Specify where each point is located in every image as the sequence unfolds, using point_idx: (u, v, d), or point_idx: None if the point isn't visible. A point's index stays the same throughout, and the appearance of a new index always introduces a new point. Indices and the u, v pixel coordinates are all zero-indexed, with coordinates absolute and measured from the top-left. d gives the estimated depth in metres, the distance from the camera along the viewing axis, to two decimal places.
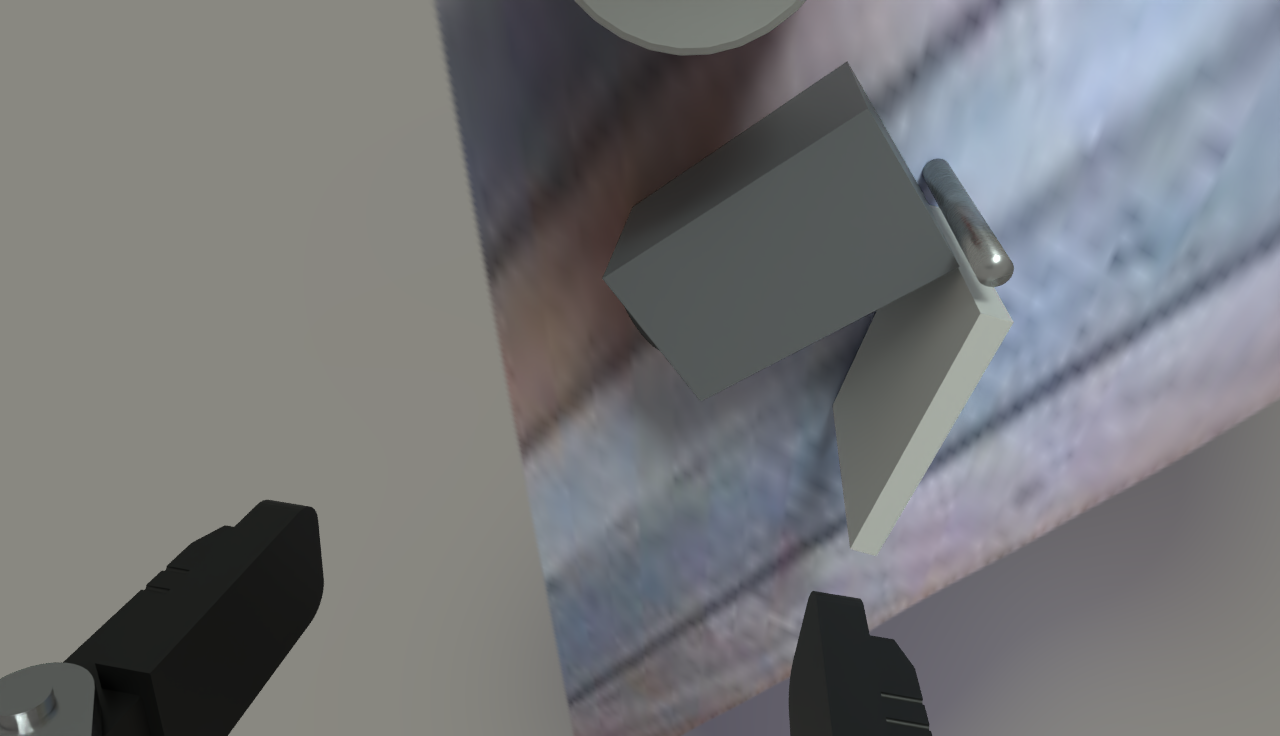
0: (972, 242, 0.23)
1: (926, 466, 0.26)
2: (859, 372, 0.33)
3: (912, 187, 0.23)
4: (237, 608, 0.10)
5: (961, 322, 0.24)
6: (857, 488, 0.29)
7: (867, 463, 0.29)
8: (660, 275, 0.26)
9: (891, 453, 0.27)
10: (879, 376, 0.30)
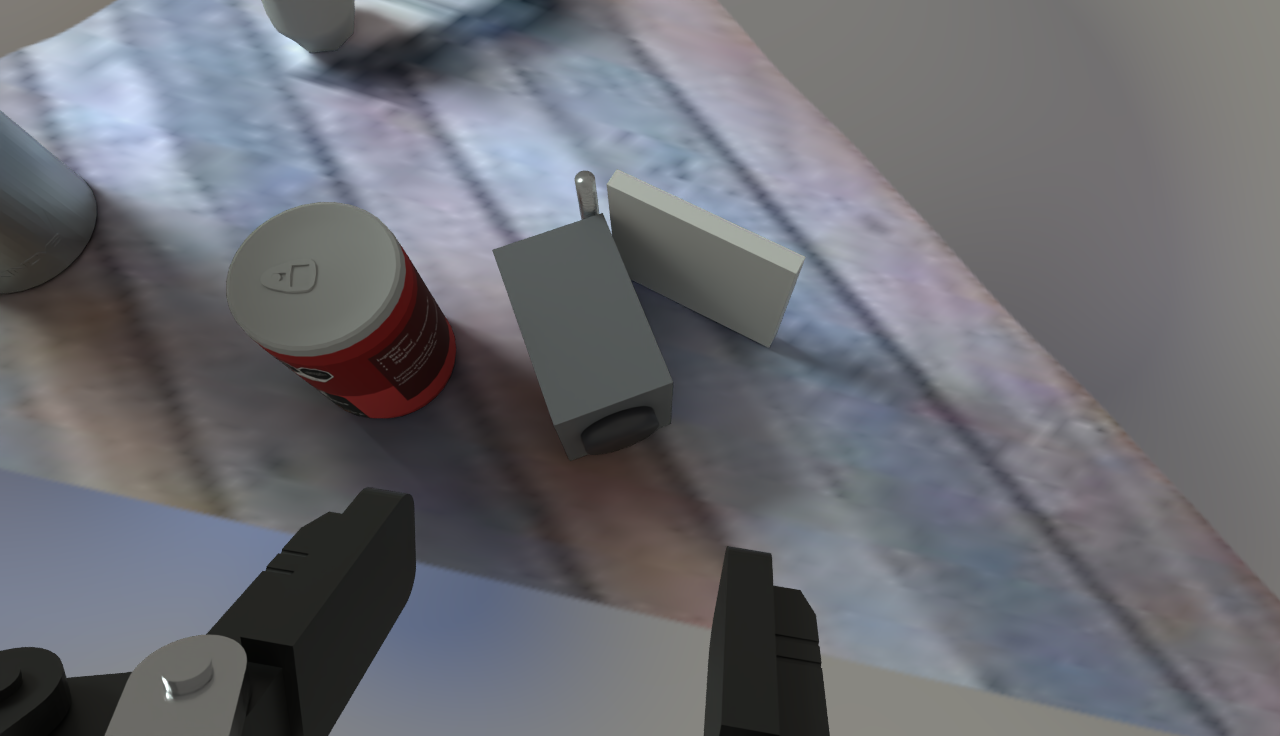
0: (578, 199, 0.39)
1: (720, 218, 0.37)
2: (726, 315, 0.43)
3: (545, 233, 0.40)
4: (356, 588, 0.11)
5: (622, 201, 0.38)
6: (766, 282, 0.38)
7: (747, 275, 0.38)
8: (562, 385, 0.37)
9: (717, 245, 0.37)
10: (706, 284, 0.41)
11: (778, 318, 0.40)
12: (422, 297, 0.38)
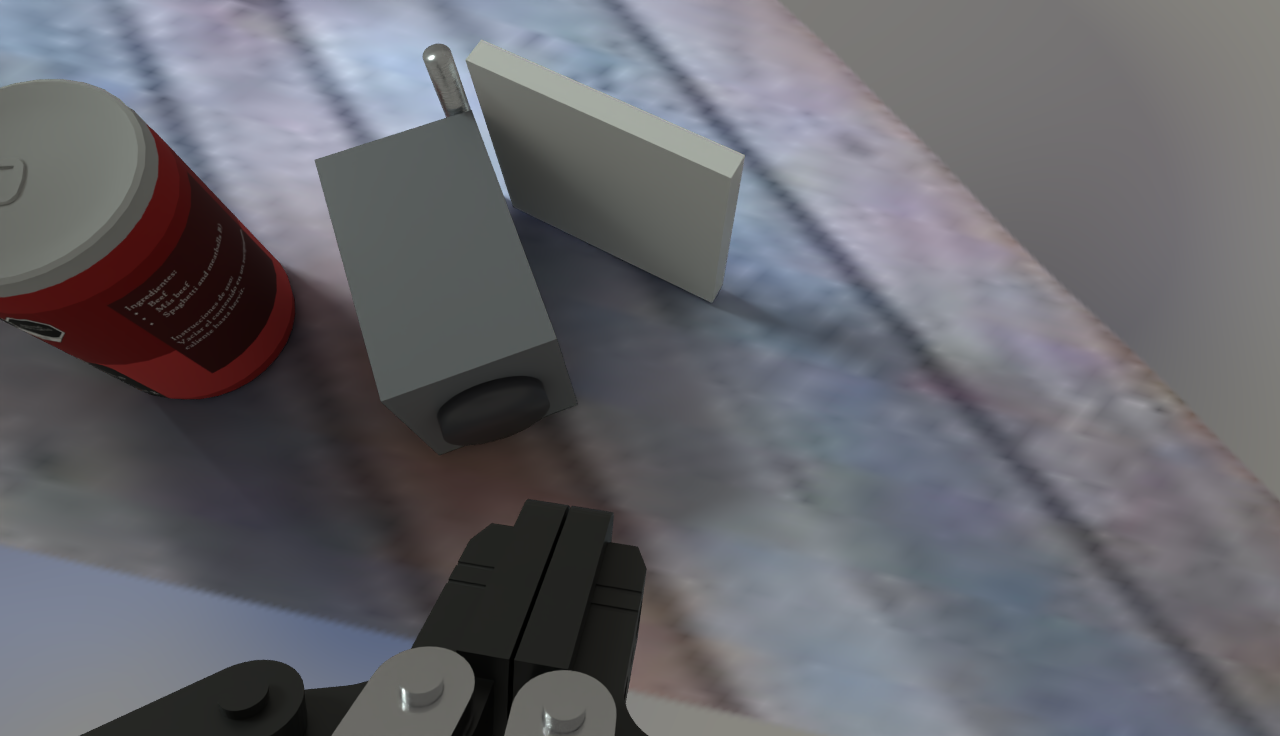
0: (434, 87, 0.28)
1: (624, 104, 0.26)
2: (652, 257, 0.32)
3: (390, 137, 0.28)
4: None
5: (490, 86, 0.27)
6: (694, 198, 0.27)
7: (667, 190, 0.27)
8: (397, 344, 0.25)
9: (622, 144, 0.26)
10: (620, 212, 0.30)
11: (717, 256, 0.29)
12: (204, 221, 0.26)
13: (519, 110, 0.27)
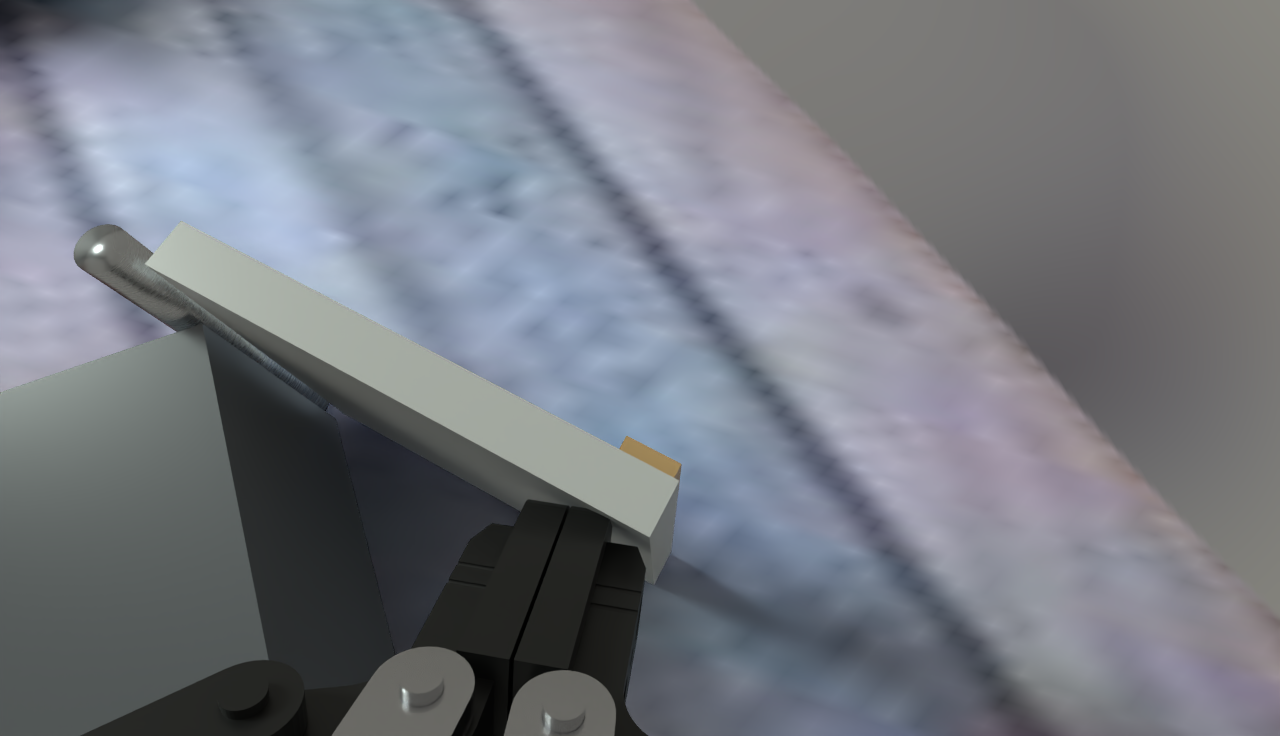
0: None
1: (442, 361, 0.13)
2: None
3: (51, 377, 0.16)
4: None
5: (207, 304, 0.14)
6: None
7: (543, 496, 0.14)
8: None
9: (445, 432, 0.13)
10: (484, 478, 0.18)
11: (649, 568, 0.17)
12: None
13: (269, 342, 0.15)
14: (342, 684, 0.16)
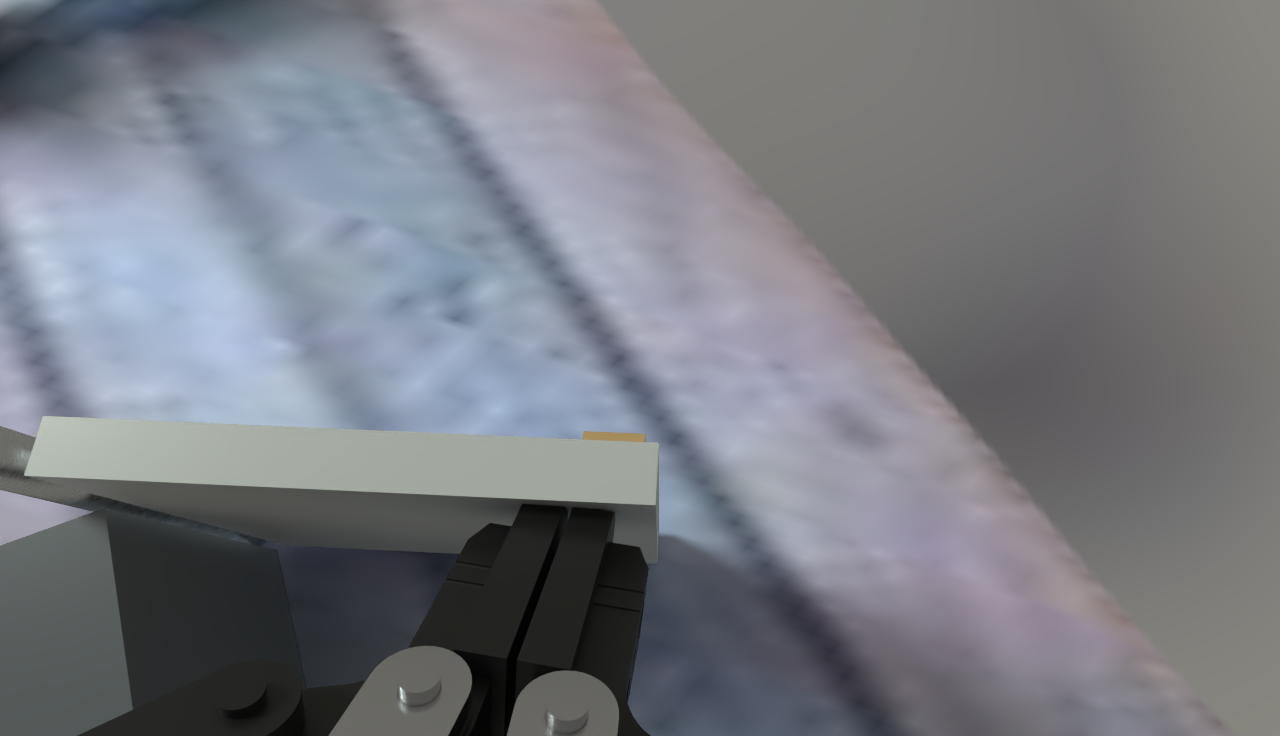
0: None
1: (384, 435, 0.12)
2: None
3: None
4: (536, 599, 0.11)
5: (110, 488, 0.13)
6: None
7: None
8: None
9: (416, 502, 0.13)
10: (461, 536, 0.17)
11: (653, 545, 0.17)
12: None
13: (192, 498, 0.14)
14: None
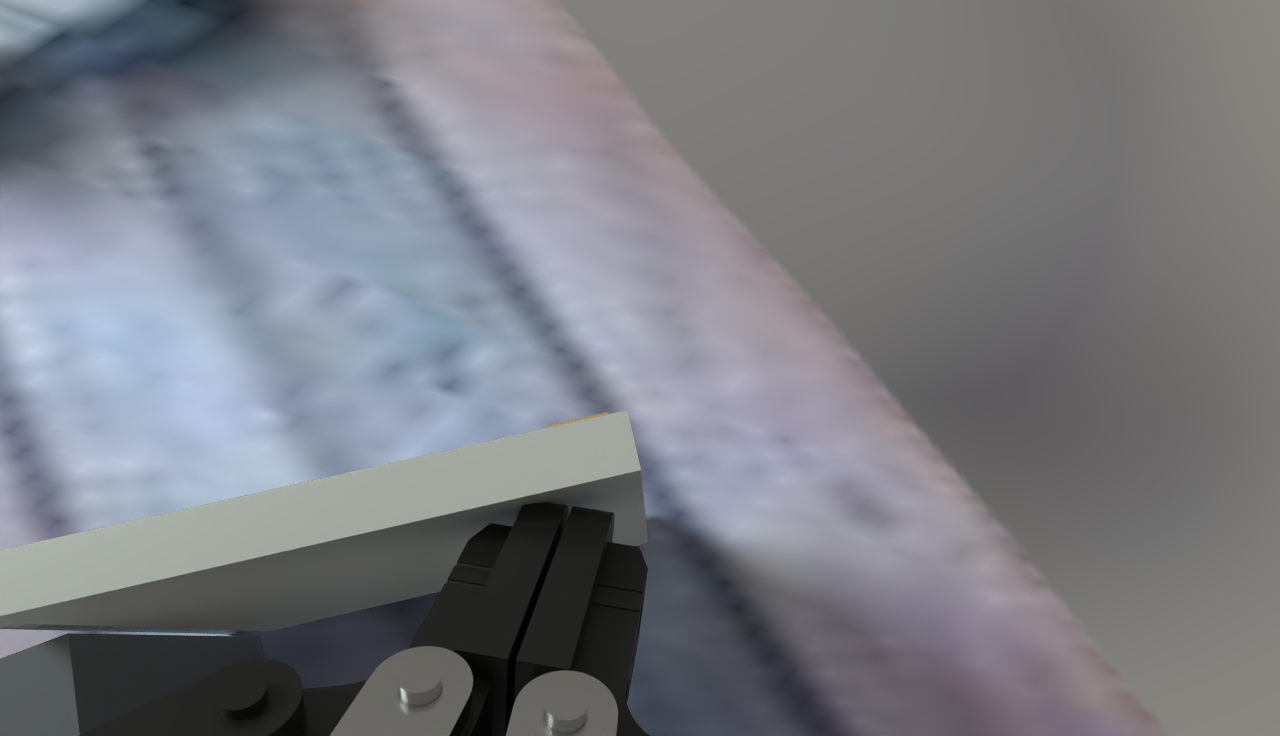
0: None
1: (352, 476, 0.12)
2: None
3: None
4: (537, 599, 0.11)
5: (72, 612, 0.12)
6: None
7: None
8: None
9: (401, 535, 0.12)
10: (451, 565, 0.17)
11: (642, 520, 0.17)
12: None
13: (163, 598, 0.13)
14: None
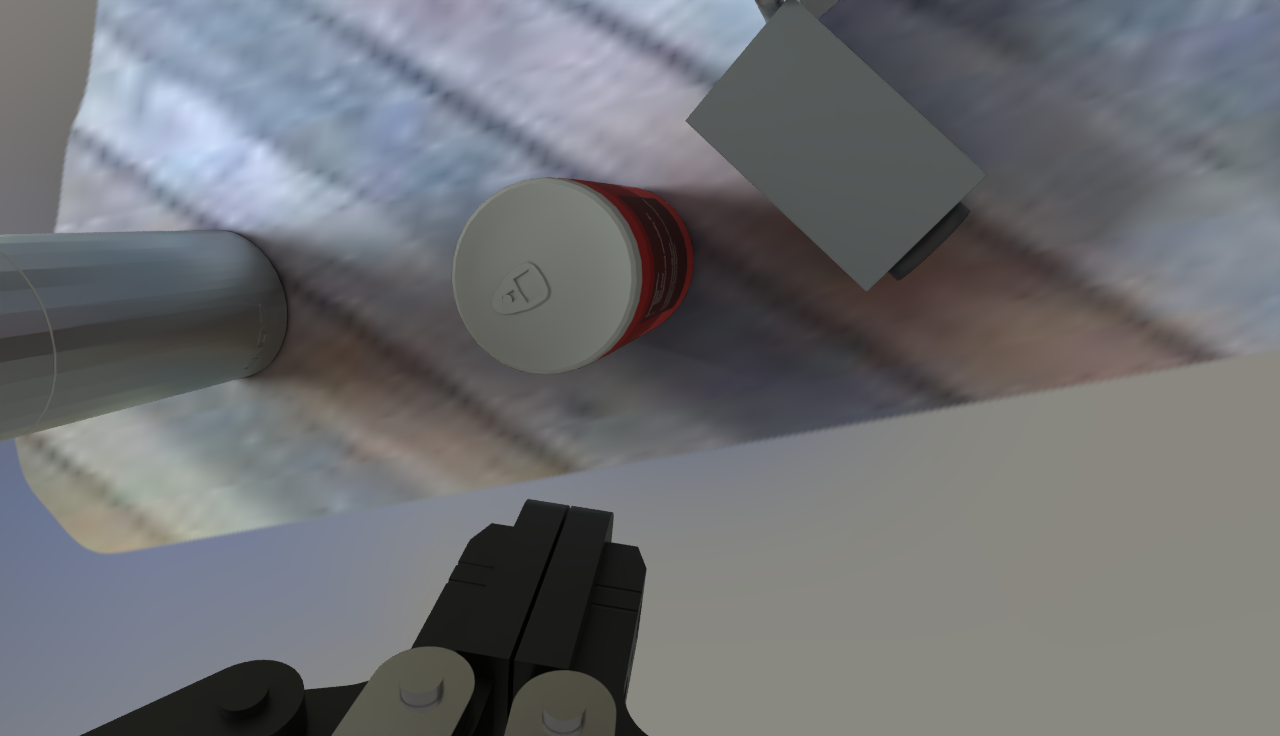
0: None
1: None
2: None
3: (734, 63, 0.30)
4: None
5: None
6: None
7: None
8: (852, 242, 0.30)
9: None
10: None
11: None
12: (647, 223, 0.31)
13: None
14: None
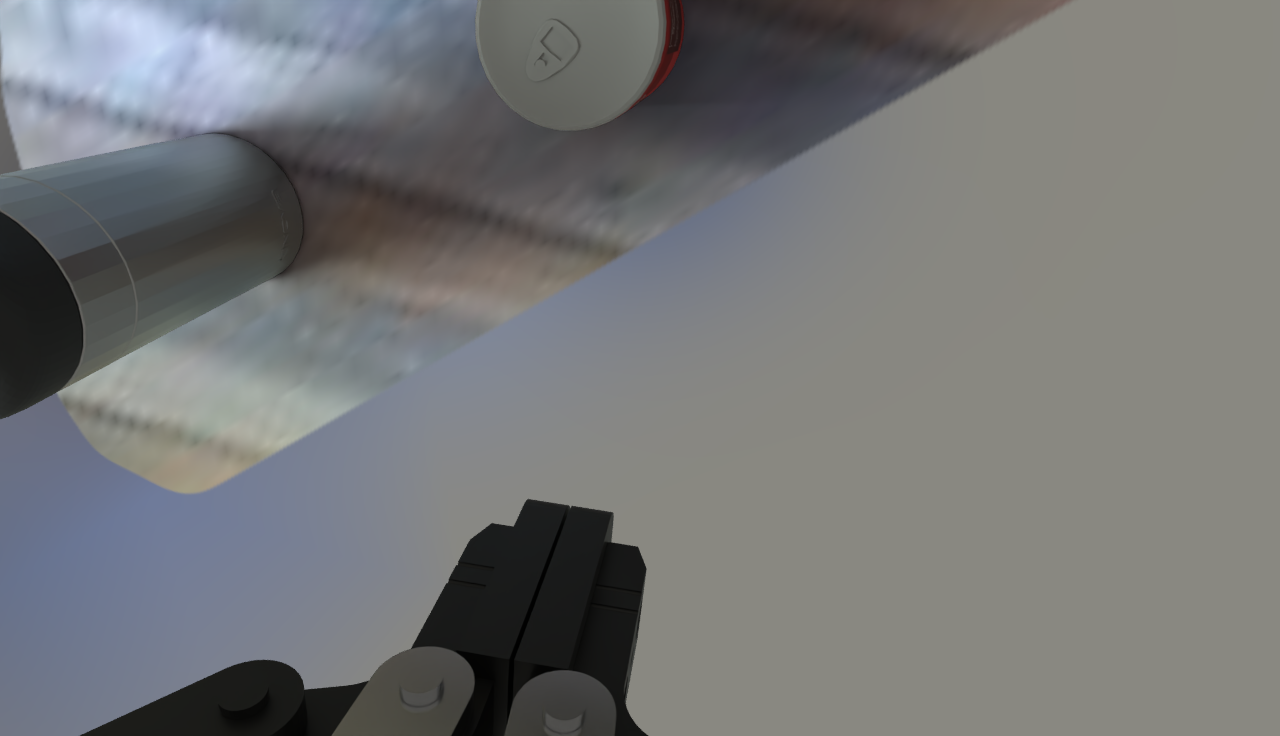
0: None
1: None
2: None
3: None
4: None
5: None
6: None
7: None
8: None
9: None
10: None
11: None
12: None
13: None
14: None
